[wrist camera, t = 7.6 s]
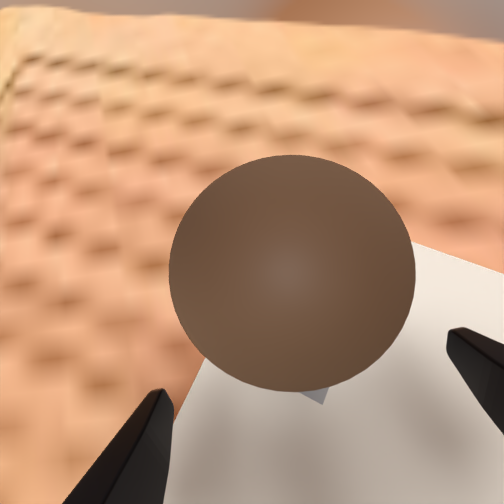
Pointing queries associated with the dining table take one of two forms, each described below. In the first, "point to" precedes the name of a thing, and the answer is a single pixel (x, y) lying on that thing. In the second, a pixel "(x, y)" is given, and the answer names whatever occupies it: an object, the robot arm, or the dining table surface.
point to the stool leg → (292, 273)
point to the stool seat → (356, 418)
